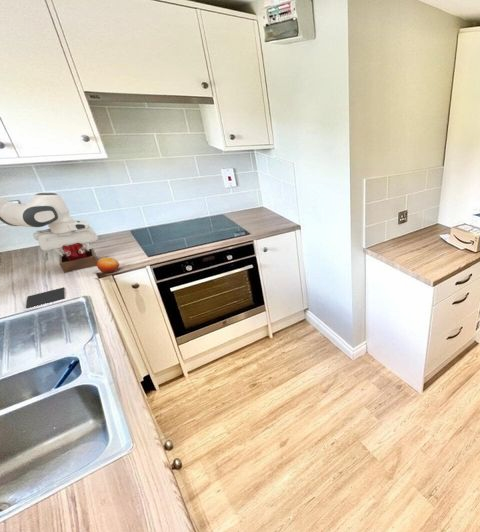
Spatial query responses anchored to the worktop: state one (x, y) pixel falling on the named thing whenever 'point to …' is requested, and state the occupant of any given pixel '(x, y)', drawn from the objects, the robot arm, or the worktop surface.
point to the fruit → (107, 265)
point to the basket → (78, 262)
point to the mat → (45, 297)
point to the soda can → (74, 251)
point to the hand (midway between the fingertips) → (76, 253)
